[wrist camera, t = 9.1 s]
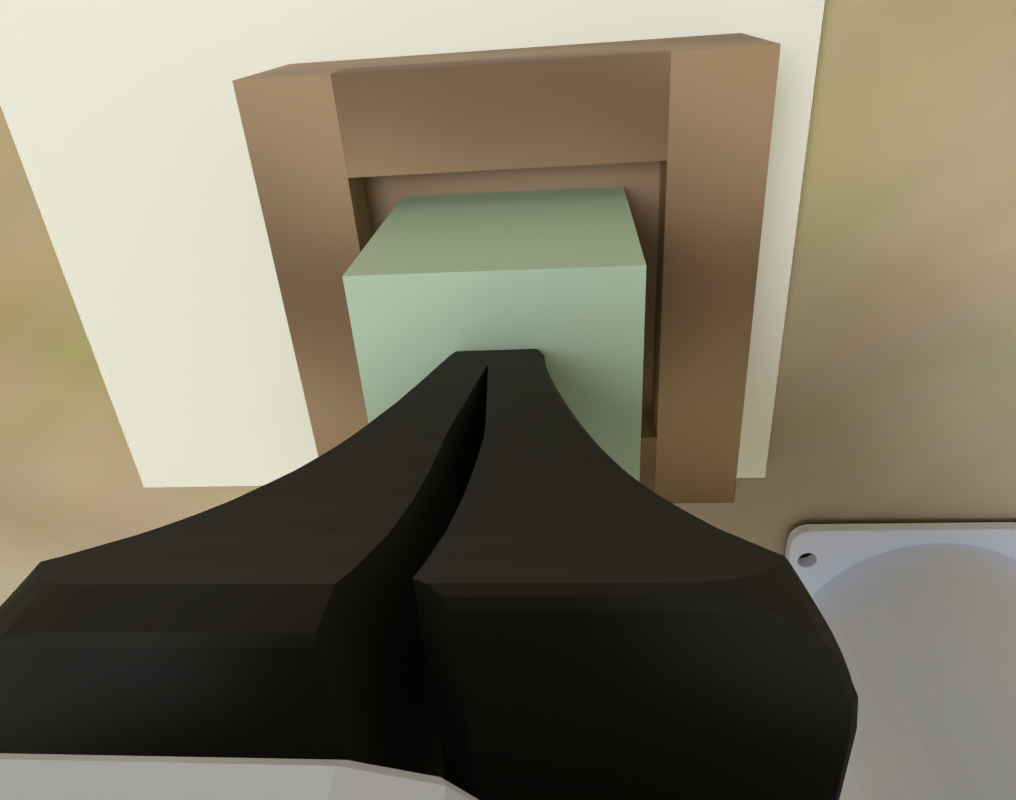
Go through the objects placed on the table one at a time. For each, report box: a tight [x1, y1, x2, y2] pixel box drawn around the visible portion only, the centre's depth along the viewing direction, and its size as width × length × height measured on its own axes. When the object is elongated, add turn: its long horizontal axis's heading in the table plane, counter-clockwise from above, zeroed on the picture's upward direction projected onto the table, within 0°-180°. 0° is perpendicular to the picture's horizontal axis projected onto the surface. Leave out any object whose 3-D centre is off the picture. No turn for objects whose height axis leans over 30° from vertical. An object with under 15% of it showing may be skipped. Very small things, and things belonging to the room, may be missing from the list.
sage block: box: [342, 186, 646, 482], centre depth 13 cm, size 4×4×4 cm
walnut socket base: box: [232, 33, 781, 503], centre depth 16 cm, size 9×9×3 cm
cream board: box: [0, 0, 825, 487], centre depth 15 cm, size 22×17×1 cm
